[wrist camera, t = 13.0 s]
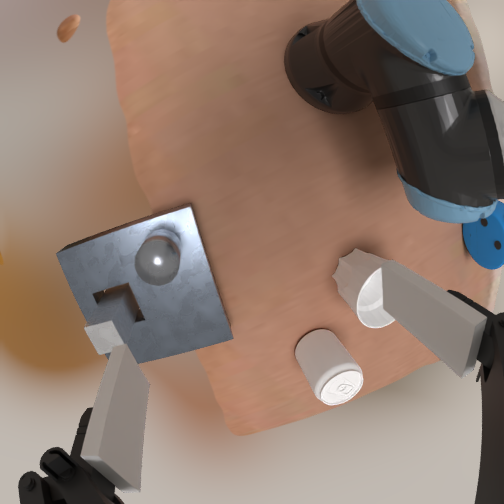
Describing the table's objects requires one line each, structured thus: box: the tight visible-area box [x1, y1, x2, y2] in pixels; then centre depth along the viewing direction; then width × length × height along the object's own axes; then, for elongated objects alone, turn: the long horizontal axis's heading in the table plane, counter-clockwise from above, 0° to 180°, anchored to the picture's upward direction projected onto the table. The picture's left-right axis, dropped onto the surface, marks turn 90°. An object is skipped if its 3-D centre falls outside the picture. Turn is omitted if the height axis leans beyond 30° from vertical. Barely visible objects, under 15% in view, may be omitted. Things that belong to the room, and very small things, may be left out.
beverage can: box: [295, 329, 363, 405], centre depth 45 cm, size 8×8×12 cm
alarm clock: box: [463, 201, 504, 269], centre depth 43 cm, size 13×6×15 cm, turn 19°
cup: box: [332, 248, 404, 328], centre depth 43 cm, size 10×10×10 cm
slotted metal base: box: [56, 203, 233, 364], centre depth 37 cm, size 20×20×10 cm
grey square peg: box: [84, 282, 139, 355], centre depth 36 cm, size 4×4×12 cm
